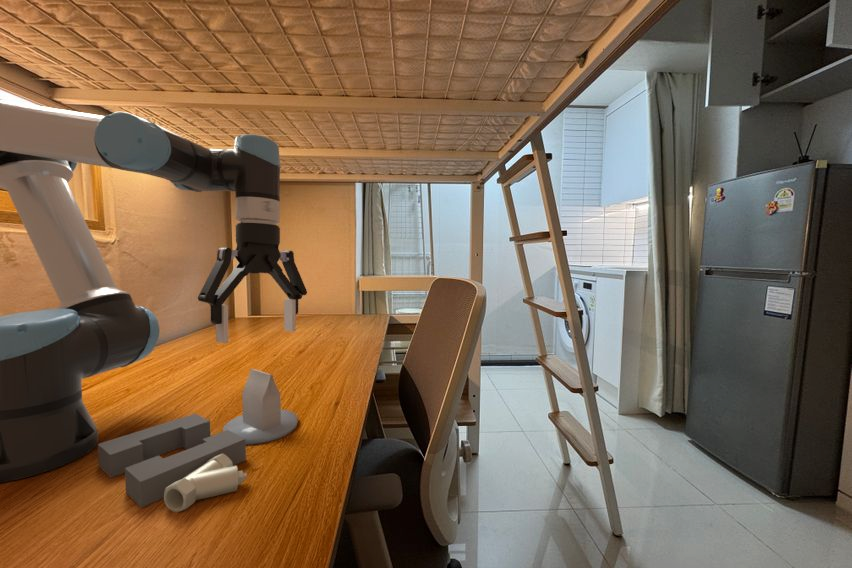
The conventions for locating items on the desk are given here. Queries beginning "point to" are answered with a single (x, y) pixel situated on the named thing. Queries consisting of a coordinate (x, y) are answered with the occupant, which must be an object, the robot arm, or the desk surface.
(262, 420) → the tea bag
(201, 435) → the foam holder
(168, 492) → the pipe fitting
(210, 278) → the robot arm
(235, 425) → the blue-grey round plate
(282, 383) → the desk surface
